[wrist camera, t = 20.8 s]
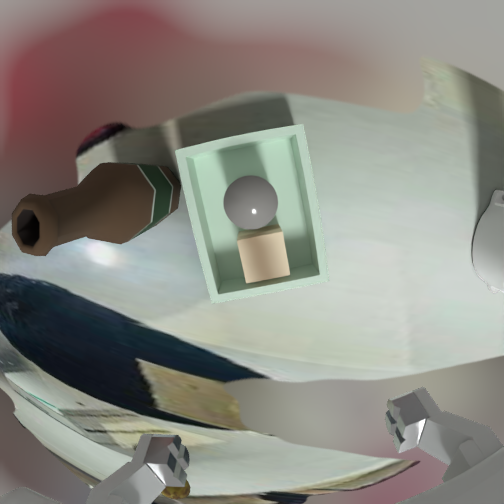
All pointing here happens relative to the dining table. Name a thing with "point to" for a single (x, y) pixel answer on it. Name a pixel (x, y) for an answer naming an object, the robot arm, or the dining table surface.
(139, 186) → the beer bottle
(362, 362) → the dining table surface
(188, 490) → the potato
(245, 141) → the tote
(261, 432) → the dining table surface
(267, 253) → the beech cube
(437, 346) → the dining table surface
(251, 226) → the white jar
